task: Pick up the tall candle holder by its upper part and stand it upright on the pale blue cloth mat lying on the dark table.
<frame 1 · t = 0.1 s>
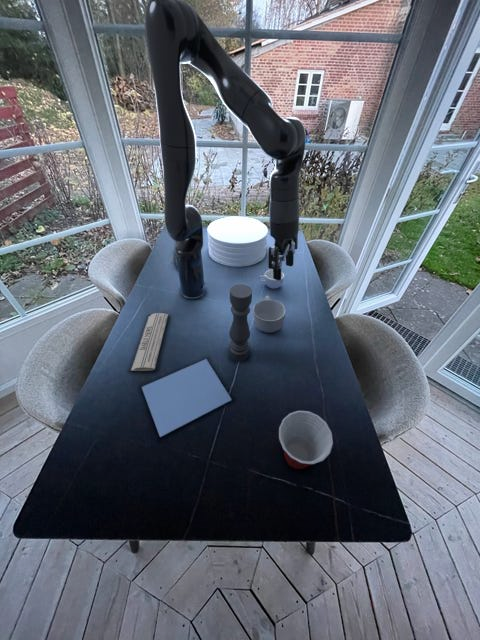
hand: (283, 272, 78), 22 cm above the table, tool pointing down, fingers open, 8 cm apart
candle holder: (239, 354, 84), on the table
plate stack: (237, 251, 131), on the table
teacup 2: (270, 285, 111), on the table
teacup: (267, 323, 94), on the table
cloth: (186, 394, 73), on the table
newspaper: (151, 341, 87), on the table
plastic cup: (295, 456, 62), on the table
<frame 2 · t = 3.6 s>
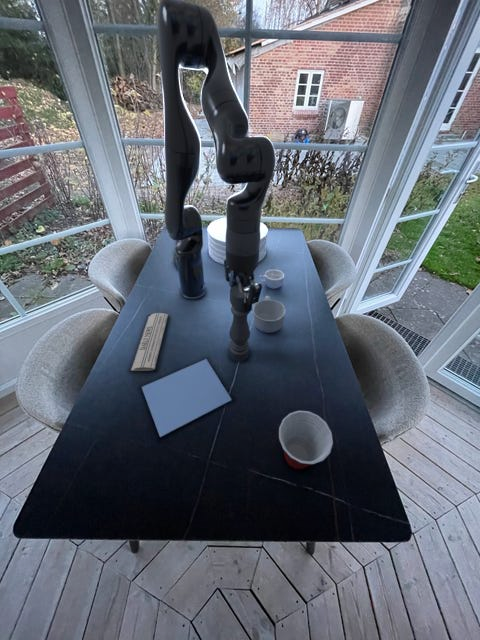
hand: (240, 304, 70), 21 cm above the table, tool pointing down, fingers closed on candle holder, 5 cm apart
candle holder: (239, 354, 84), on the table, touching gripper
everything else where it was.
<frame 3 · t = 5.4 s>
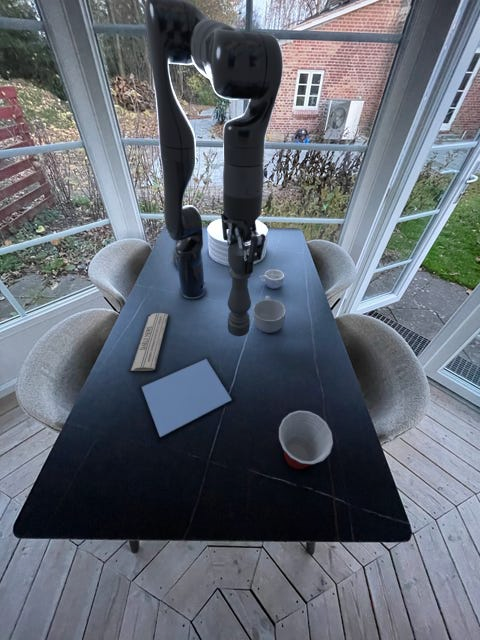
hand: (240, 266, 61), 32 cm above the table, tool pointing down, fingers closed on candle holder, 5 cm apart
candle holder: (238, 328, 76), point 12 cm above the table, touching gripper
everything else where it was.
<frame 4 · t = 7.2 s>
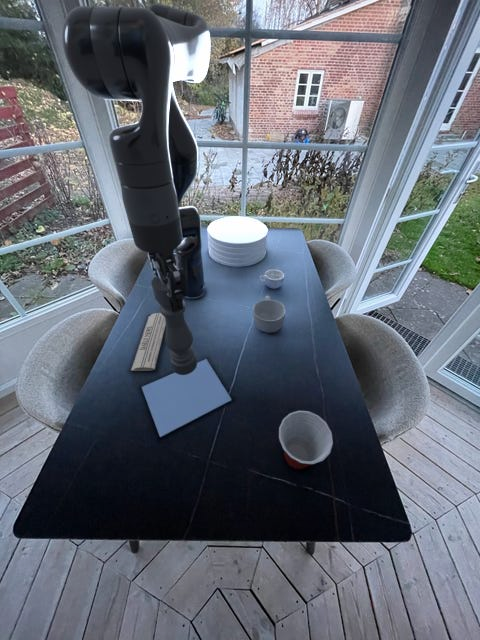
hand: (171, 300, 51), 33 cm above the table, tool pointing down, fingers closed on candle holder, 5 cm apart
candle holder: (184, 365, 65), point 12 cm above the table, touching gripper
everything else where it was.
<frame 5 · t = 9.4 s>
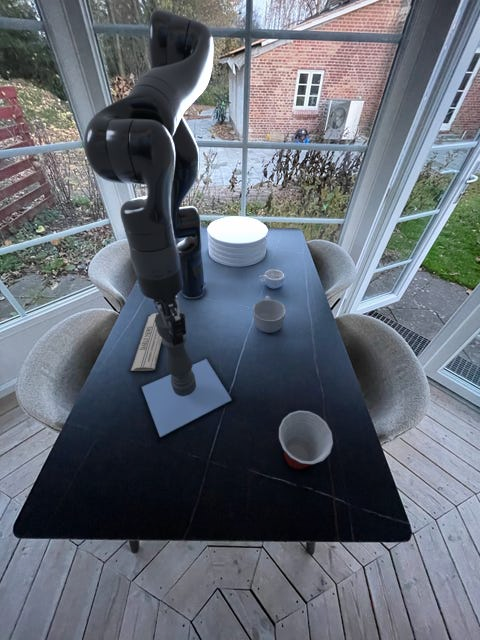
hand: (172, 333, 56), 24 cm above the table, tool pointing down, fingers closed on candle holder, 5 cm apart
candle holder: (184, 386, 71), point 4 cm above the table, touching gripper
everything else where it was.
when the fingers open (21 cm above the table, at t = 11.0 s): candle holder stays where it is, resting on cloth.
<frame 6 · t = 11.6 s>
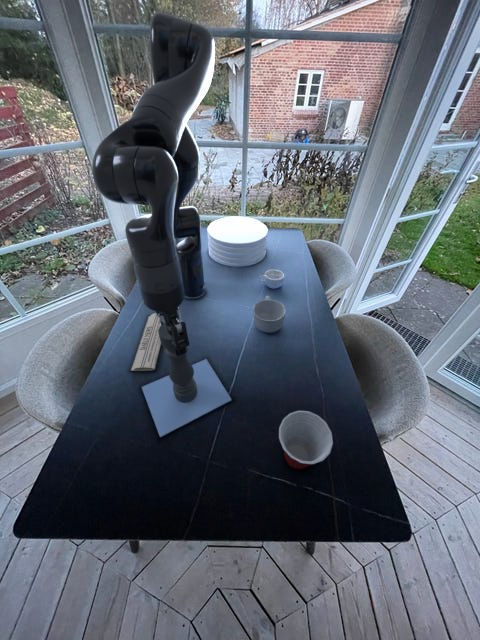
hand: (174, 340, 58), 22 cm above the table, tool pointing down, fingers open, 8 cm apart
candle holder: (186, 393, 73), resting on cloth
everything else where it was.
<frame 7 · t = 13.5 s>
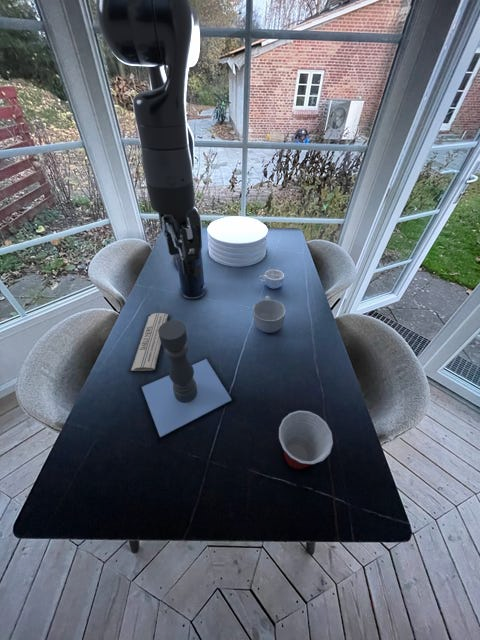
hand: (181, 263, 54), 36 cm above the table, tool pointing down, fingers open, 8 cm apart
nothing on the table moved.
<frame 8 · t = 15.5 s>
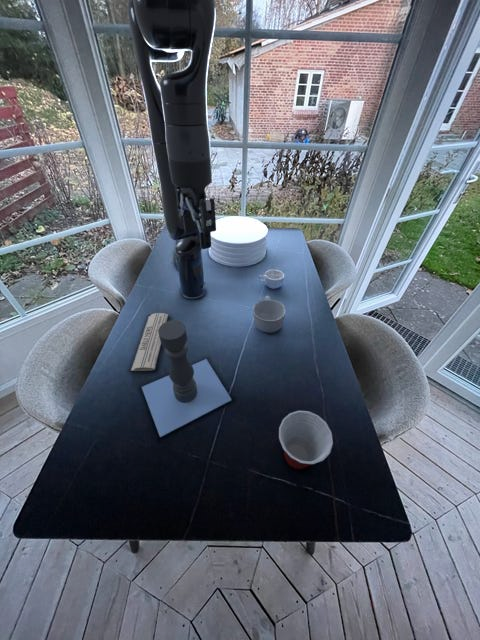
hand: (197, 239, 58), 38 cm above the table, tool pointing down, fingers open, 8 cm apart
nothing on the table moved.
at the end: candle holder inside the target area on the cloth (0.1 cm from its centre), point 0.2 cm above the cloth's base; candle holder tilted 0°; the gripper is holding nothing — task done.
